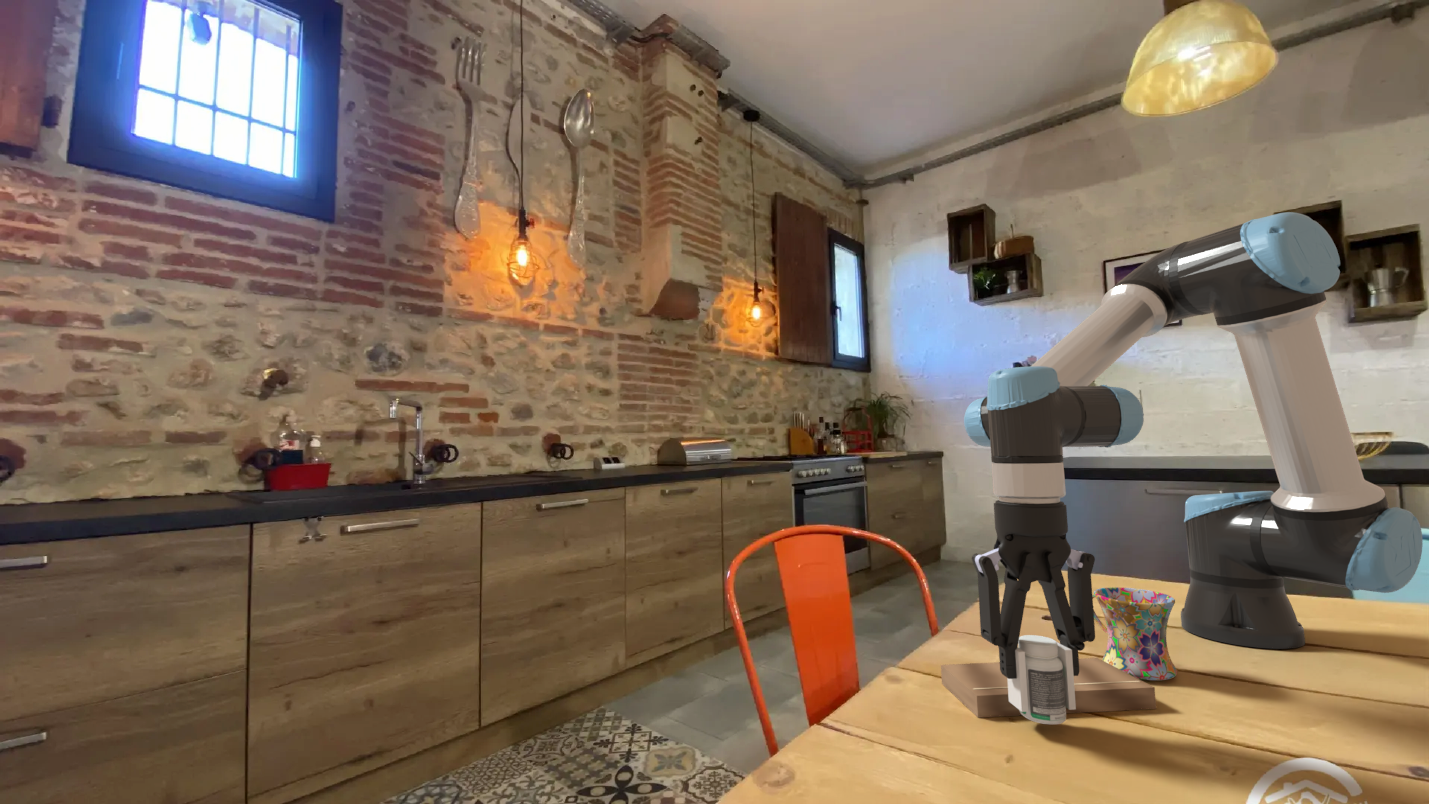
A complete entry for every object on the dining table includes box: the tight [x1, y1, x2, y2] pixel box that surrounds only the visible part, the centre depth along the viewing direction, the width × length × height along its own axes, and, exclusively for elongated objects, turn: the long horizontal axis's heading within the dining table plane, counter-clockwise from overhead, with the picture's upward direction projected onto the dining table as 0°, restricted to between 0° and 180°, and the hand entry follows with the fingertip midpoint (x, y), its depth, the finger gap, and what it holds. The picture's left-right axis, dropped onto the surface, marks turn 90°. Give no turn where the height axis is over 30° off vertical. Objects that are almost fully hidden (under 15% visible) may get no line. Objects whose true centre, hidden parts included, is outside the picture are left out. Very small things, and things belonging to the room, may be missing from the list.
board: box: [940, 657, 1157, 718], centre depth 76 cm, size 22×10×3 cm, turn 93°
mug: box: [1092, 586, 1178, 681], centre depth 84 cm, size 12×9×11 cm
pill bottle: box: [1018, 634, 1067, 725], centre depth 67 cm, size 5×5×8 cm
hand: (1041, 704), depth 67 cm, fingers closed on pill bottle, 5 cm apart
